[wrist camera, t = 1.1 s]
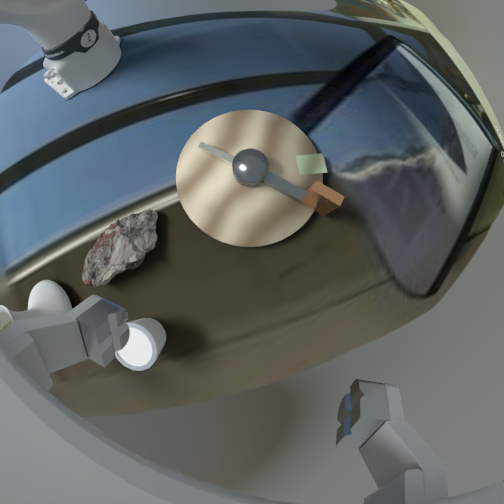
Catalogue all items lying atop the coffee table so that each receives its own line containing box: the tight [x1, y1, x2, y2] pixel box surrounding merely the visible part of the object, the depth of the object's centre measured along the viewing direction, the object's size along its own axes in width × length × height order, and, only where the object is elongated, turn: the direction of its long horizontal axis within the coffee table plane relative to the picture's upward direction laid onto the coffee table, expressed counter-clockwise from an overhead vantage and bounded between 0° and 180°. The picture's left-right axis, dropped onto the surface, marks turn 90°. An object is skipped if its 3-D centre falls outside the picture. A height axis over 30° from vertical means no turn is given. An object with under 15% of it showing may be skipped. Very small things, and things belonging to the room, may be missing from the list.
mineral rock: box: [82, 210, 158, 287], centre depth 37 cm, size 15×8×4 cm, turn 116°
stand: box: [176, 110, 327, 247], centre depth 39 cm, size 22×22×2 cm
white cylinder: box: [115, 318, 166, 371], centre depth 35 cm, size 7×7×7 cm
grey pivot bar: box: [198, 142, 344, 216], centre depth 35 cm, size 21×5×7 cm, turn 62°
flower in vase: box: [0, 280, 72, 332], centre depth 25 cm, size 13×11×25 cm
